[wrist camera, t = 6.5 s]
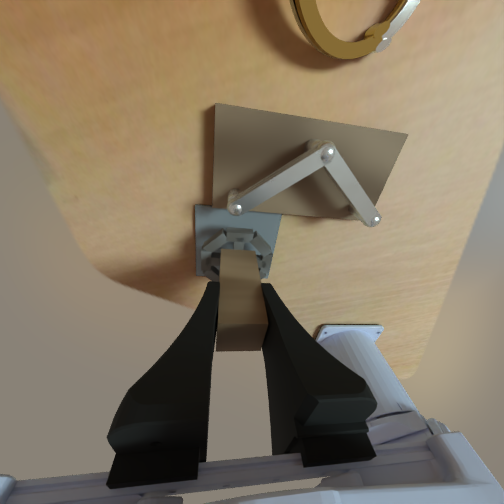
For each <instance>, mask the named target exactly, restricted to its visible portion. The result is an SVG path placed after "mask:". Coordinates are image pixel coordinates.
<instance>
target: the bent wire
mask: <svg viewBox="0 0 504 504" xmlns="http://www.w3.org/2000/svg"><path fill="white" fill-rule="evenodd" d="M304 152H305V153H303V154H302V155H300V156H299V157H297V158H295V159H294V160H292V161H291V162H289V163H287V164H286V165H284V166H283V167H281V168H279V169H278V170H276V171H275V172H273V173H271V174H270V175H268V176H267V177H265V178H263V179H262V180H260V181H259V182H257V183H255V184H254V185H252V186H250V187H249V188H247V189H246V190H244V191H242V192H241V191H240V190H239V189H236V188H233V189H231V190H230V191H229V192H228V203H227V210H228V212H229V213H230V214H231V215H233V216H241V215H243V214H244V213H246V212H248V211H249V210H251V209H253V208H254V207H256V206H258V205H259V204H261V203H263V202H264V201H266V200H268V199H269V198H271V197H273V196H274V195H276V194H278V193H279V192H281V191H283V190H285V189H286V188H288V187H290V186H291V185H293V184H295V183H296V182H298V181H300V180H301V179H303V178H305V177H306V176H308V175H310V174H311V173H313V172H315V171H316V170H318V169H320V168H321V167H322V168H323V169H324V170H325V172H326V173H327V175H328V176H329V177H330V179H331V180H332V181H333V183H334V184H335V185H336V187H337V188H338V189H339V191H340V192H341V193H342V195H343V196H344V197H345V199H346V200H347V202H348V203H349V204H350V207H349V212H350V213H351V214H353V215H354V216H355V217H356V218H358V219H359V220H360V221H361V222H363V224H364V225H365V226H367V227H374V226H376V225H378V224H379V223H380V220H381V218H382V217H381V216H380V214H379V213H378V211H377V210H376V208H375V207H374V205H373V203H372V202H371V200H370V199H369V197H368V196H367V194H366V193H365V191H364V190H363V188H362V187H361V185H360V184H359V182H358V181H357V179H356V178H355V176H354V175H353V173H352V172H351V170H350V169H349V167H348V166H347V164H346V163H345V161H344V160H343V158H342V157H341V155H340V154H339V152H338V151H337V149H336V146H335V144H334V143H333V142H331V141H328V140H325V141H320V140H317V139H310V140H308V141H307V142H306V144H305V146H304Z"/></svg>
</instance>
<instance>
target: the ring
mask: <svg viewBox="0 0 504 504" xmlns="http://www.w3.org/2000/svg"><path fill="white" fill-rule="evenodd" d="M289 2H290V5H291V9H292V12H293V15H294V18H295V20H296V22H297V25H298V27H299V29H300V30H301V32H302V34H303V35H304V37H305V38H306V39H307V41H308V42H309V43H310V44H311V45H312V46H313V47H314V48H315V49H316V50H318V51H319V52H320V53H322V54H324V55H326V56H328V57H331V58H336V59H354V58H358V57H362V56H364V55H367V54H369V53H376V52H381V51H383V50H384V49H385V48H387V47H388V45H389V44H390V43H391V37H392V36H393V35H394V34H395V33H396V32H397V31H398V30H399V29H400V28H401V27H402V26H403V25H404V23H405V22H406V21H407V20H408V18H409V17H410V16H411V14H412V13H413V11H414V10H415V8H416V7H417V5H418V3H419V2H420V0H399V1H398V3H397V4H396V6H395V8H394V9H393V10H392V12H391V13H390V14H389V16H388V17H387V18H386V19H385V21H384V22H381V23H377V24H374V25H373V26H371V27H370V28H369V29H368V30H367V31H366V33H365V35H364V39H362V40H360V41H357V42H345V41H342V40H339V39H337V38H336V37H335V36H333V35H332V34H331V33H330V32H329V31H328V29H327V28H326V26H325V25H324V23H323V21H322V19H321V17H320V14H319V12H318V9H317V5H316V1H315V0H289Z"/></svg>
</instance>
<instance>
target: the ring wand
mask: <svg viewBox="0 0 504 504" xmlns="http://www.w3.org/2000/svg"><path fill="white" fill-rule="evenodd" d="M228 241H231V242H233V249H221V253H217V252H214V251H215V250H217V249H218V248H219V247H221V246H222V245H224V244H225V243H226V242H228ZM244 242H246V243H251V244H252V245H253V246H254V247H255V248H256V249H257V250H258V251H259V252H260V253H261V255H256V252H255V251H251V250H243V249H244ZM272 257H273V254H272V250H271V247H270V245H269V244H268V243H267V242H266V241H265V240H264V239H263V238H262V236H261V235H260V234H259V233H258V232H257V231H255V232H254V233H253V229H247V228H233V227H227V231H225V230H224V229H223V228H222V229H221V230H220V231H218V232H217V233H216V234H214V235H213V236H212V237H210V238H209V239H208V240H206V241H205V242H204V244H203V246H202V249H201V271H203V274H204V275H205V276H206V277H208V278H209V279H210V280H212V281H214V282H220V295H219V305H218V320H217V339H216V340H217V341H216V351H261V347H262V344H263V341H264V337H265V334H266V331H267V327H268V318H267V313H266V307H265V302H264V298H263V293H262V288H261V279H263V278H264V277H266V274H268V273H269V269H270V265H271V261H272ZM215 266H220V271H219V270H218V269H217V268H216V267H215Z"/></svg>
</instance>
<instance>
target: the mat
mask: <svg viewBox="0 0 504 504" xmlns="http://www.w3.org/2000/svg"><path fill="white" fill-rule="evenodd" d="M281 216H282V214H279V213H268V212H256V211H248V212H246V213H244V214H243V215H241V216H233V215H231V214H230V213H229V212H228V210H227V209H222V208H212V206H209V205H197V204H196V205H195V231H196V276H205V275H204V274H203V271H201V249H202V246H203V244H204V242H205V241H206V240H208V239H209V238H210V237H212V236H213V235H214V234H216V233H217V232H218V231H220V230H221V229H222V228H223V229H224V230H225V231H227V227H233V228H247V229H253V233H254V232H255V231H257V232H258V233H259V234H260V235H261V236H262V238H263V239H264V240H265V241H266V242H267V243H268V244H269V245H270V247H271V250H272V254H273V252H274V248H275V243H276V239H277V234H278V230H279V225H280V221H281ZM221 249H233V242H231V241H228V242H226V243H225V244H224V245H222V246H221V247H219V248H218V249H217V250H215V251H214V252H217V253H221ZM243 250H251V251H255V252H256V255H261V253H260V252H259V251H258V250H257V249H256V248H255V247H254V246H253V245H252V244H251V243H246V242H244V249H243ZM270 266H271V265H270ZM215 267H216V268H217V269H218V270H219V271H220V266H215ZM269 270H270V269H269ZM268 275H269V273H268V274H266V277H264V278H268Z"/></svg>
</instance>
